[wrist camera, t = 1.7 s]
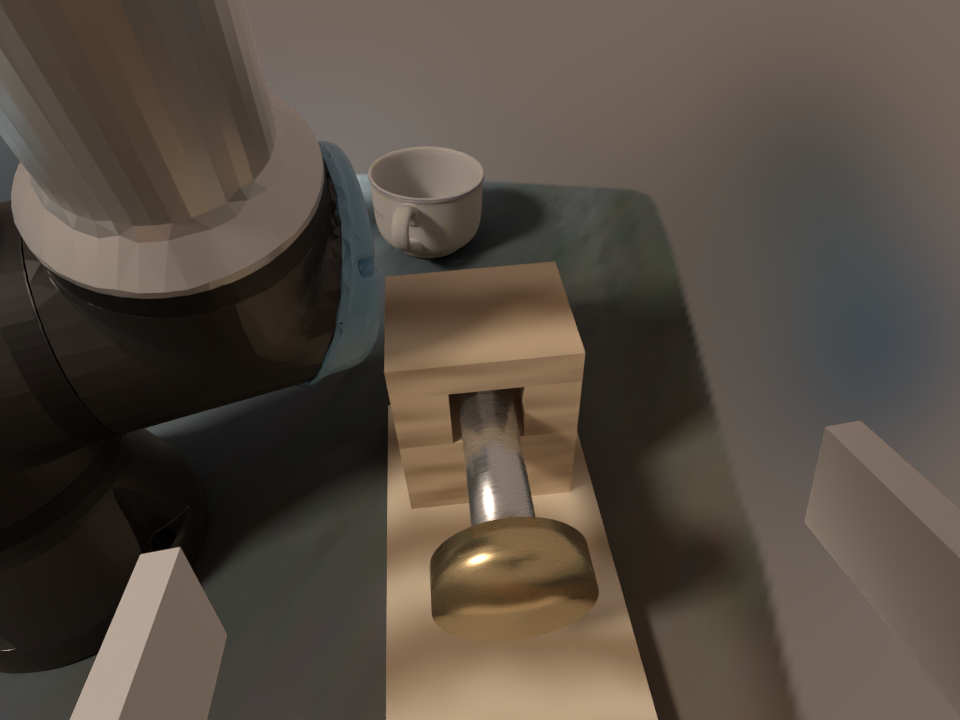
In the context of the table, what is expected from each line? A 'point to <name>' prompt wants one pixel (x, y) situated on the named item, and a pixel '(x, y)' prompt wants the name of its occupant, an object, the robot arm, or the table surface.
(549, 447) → the bearing stand
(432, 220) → the teacup
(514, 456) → the shaft
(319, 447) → the table surface
